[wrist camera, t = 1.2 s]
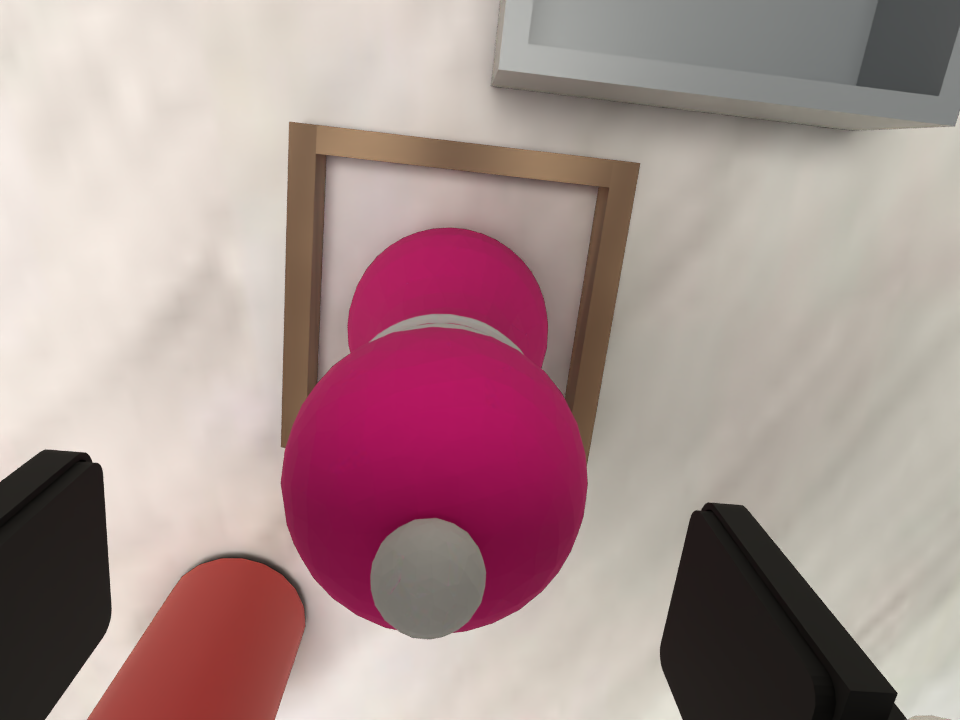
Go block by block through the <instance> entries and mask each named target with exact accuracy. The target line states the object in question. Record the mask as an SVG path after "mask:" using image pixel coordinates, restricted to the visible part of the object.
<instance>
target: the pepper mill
mask: <svg viewBox="0 0 960 720" xmlns="http://www.w3.org/2000/svg"><path fill="white" fill-rule="evenodd" d="M547 335H548V321H547V313H546V308H545V303H544V298H543V295H542V293H541V290H540V287H539V285H538V283H537V281H536V279H535V278H534V276H533V274H532V272H531V271H530V270H529V268H528V267H527V266H526V265H525V263H524V262H523V261H522V260H521V259H520V258H519V257H518V256H517V255H516V254H515V253H514V252H513V251H512V250H510V249H509V248H508V247H506V246H505V245H503V244H502V243H500V242H499V241H497V240H495V239H493V238H491V237H488V236H486V235H484V234H481V233H478V232H474V231H471V230H467V229H458V228H436V229H430V230H425V231H421V232H417V233H414V234H412V235H409V236H407V237H404V238H402V239H401V240H399V241H397V242H396V243H394V244H392V245H391V246H389V247H388V248H387V249H385V250H384V251H383V252H382V253H381V254H380V255H378V256H377V257H376V259H375V260H374V261H373V262H372V263H371V264H370V266H369V267H368V268H367V269H366V271H365V273H364V275H363V276H362V278H361V280H360V282H359V283H358V285H357V288H356V291H355V294H354V296H353V300H352V303H351V307H350V310H349V318H348V344H349V348H350V352H351V353H350V354H349V355H347V356H346V357H345V358H343V359H342V360H340V361H339V362H338V363H336V364H335V365H334V366H332V368H331V369H330V370H329V371H328V372H327V373H326V374H325V375H324V376H323V378H322V379H321V380H320V381H319V382H318V383H317V384H316V385H315V387H314V388H313V390H312V391H311V393H310V394H309V395H308V397H307V398H306V400H305V401H304V403H303V404H302V406H301V408H300V410H299V412H298V415H297V417H296V419H295V421H294V423H293V426H292V429H291V432H290V435H289V438H288V442H287V445H286V448H285V453H284V461H283V469H282V477H281V488H282V495H283V502H284V508H285V515H286V522H287V526H288V529H289V532H290V535H291V537H292V540H293V543H294V545H295V547H296V549H297V551H298V553H299V555H300V557H301V558H302V560H303V562H304V563H305V565H306V566H307V568H308V570H309V571H310V573H311V575H312V576H313V578H314V579H315V580H316V581H317V582H318V583H319V584H320V585H321V586H322V587H323V589H324V590H325V591H326V592H327V593H328V594H329V595H330V596H331V597H332V598H333V599H335V600H336V601H337V602H339V603H340V604H342V605H343V606H345V607H346V608H347V609H349V610H350V611H352V612H353V613H355V614H356V615H358V616H360V617H362V618H364V619H367V620H369V621H371V622H374V623H376V624H378V625H380V626H383V627H385V628H389V629H394V630H398V631H399V632H401V633H403V634H405V635H408V636H410V637H412V638H420V639H435V638H440V637H443V636H446V635H448V634H451V633H456V632H464V631H469V630H472V629H475V628H479V627H482V626H485V625H489V624H492V623H494V622H496V621H498V620H500V619H502V618H504V617H506V616H508V615H510V614H512V613H514V612H516V611H518V610H520V609H521V608H522V607H523V606H525V605H526V604H527V603H528V602H529V601H531V600H532V599H533V598H534V597H536V596H537V595H538V594H539V593H541V592H542V591H543V590H544V589H545V587H546V586H547V585H548V584H549V583H550V582H551V580H552V579H553V578H554V577H555V576H556V575H557V573H558V572H559V571H560V569H561V567H562V566H563V564H564V562H565V560H566V559H567V557H568V555H569V553H570V552H571V550H572V547H573V545H574V542H575V540H576V537H577V535H578V532H579V529H580V526H581V523H582V519H583V516H584V509H585V502H586V494H587V485H588V482H587V468H586V454H585V451H584V447H583V443H582V439H581V436H580V432H579V428H578V425H577V422H576V420H575V418H574V416H573V414H572V412H571V410H570V408H569V406H568V404H567V402H566V400H565V398H564V396H563V394H562V393H561V392H560V390H559V389H558V388H557V386H556V385H555V384H554V383H553V381H552V380H551V379H550V378H549V376H548V375H547V374H546V373H545V371H544V370H542V369H541V367H542V363H543V360H544V356H545V353H546V349H547Z"/></svg>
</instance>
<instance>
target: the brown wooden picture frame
mask: <svg viewBox="0 0 960 720" xmlns="http://www.w3.org/2000/svg"><path fill="white" fill-rule="evenodd" d="M326 155H332V156H341V157H349V158H358V159H367V160H375V161H384V162H392V163H401V164H410V165H418V166H427V167H436V168H444V169H453V170H462V171H470V172H479V173H487V174H496V175H505V176H513V177H522V178H531V179H539V180H548V181H557V182H565V183H574V184H582V185H591V186H599V189H598V195H597V201H596V208H595V214H594V220H593V226H592V233H591V239H590V245H589V251H588V257H587V264H586V270H585V276H584V282H583V289H582V295H581V301H580V307H579V313H578V320H577V326H576V332H575V338H574V345H573V351H572V357H571V363H570V369H569V376H568V382H567V388H566V394H565V400H566V402H567V404H568V406H569V408H570V410H571V412H572V414H573V416H574V418H575V420H576V422H577V425H578V428H579V432H580V436H581V439H582V443H583V447H584V451H585V454H586V467H587V461H588V456H589V450H590V444H591V439H592V433H593V427H594V422H595V416H596V410H597V405H598V399H599V393H600V388H601V382H602V377H603V371H604V365H605V360H606V354H607V348H608V343H609V337H610V331H611V326H612V320H613V314H614V309H615V303H616V297H617V292H618V286H619V280H620V275H621V269H622V263H623V258H624V252H625V247H626V241H627V235H628V230H629V224H630V218H631V213H632V207H633V201H634V196H635V190H636V184H637V179H638V173H639V167H640V163H634V162H625V161H617V160H608V159H600V158H592V157H583V156H575V155H566V154H558V153H549V152H541V151H532V150H524V149H515V148H507V147H498V146H490V145H482V144H473V143H465V142H456V141H448V140H439V139H431V138H422V137H414V136H405V135H397V134H389V133H380V132H372V131H363V130H355V129H346V128H338V127H329V126H321V125H312V124H304V123H295V122H289V149H288V189H287V229H286V269H285V309H284V349H283V389H282V429H281V447H283V448H286V445H287V442H288V438H289V435H290V432H291V429H292V426H293V423H294V421H295V419H296V417H297V415H298V412H299V410H300V408H301V406H302V404H303V403H304V401H305V400H306V398H307V397H308V395H309V394H310V393H311V391H312V390H313V388H314V387H315V385H316V384H317V370H318V346H319V322H320V298H321V274H322V249H323V225H324V201H325V177H326Z"/></svg>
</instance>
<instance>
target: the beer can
mask: <svg viewBox="0 0 960 720" xmlns="http://www.w3.org/2000/svg"><path fill="white" fill-rule="evenodd" d="M304 629H305V615H304V607H303V604H302V602H301V600H300V598H299V596H298V594H297V591H296V589H295V588H294V587H293V586H292V585H291V584H290V583H289V582H288V581H287V580H286V579H285V577H284V576H283V575H282V574H280V573H278V572H277V571H275V570H273V569H271V568H270V567H268V566H266V565H265V564H262V563H258V562H254V561H251V560H247V559H243V558H221V559H217V560H214V561H210V562H207V563H203V564H200V565H198V566H197V567H195V568H194V569H192V570H191V571H189V572H188V573H186V574H185V575H183V576H182V577H181V579H180V580H179V582H178V583H177V584H176V586H175V587H174V589H173V590H172V591H171V593H170V594H169V596H168V597H167V599H166V600H165V602H164V604H163V605H162V607H161V608H160V610H159V611H158V613H157V614H156V616H155V617H154V619H153V620H152V622H151V623H150V625H149V626H148V628H147V629H146V631H145V632H144V634H143V635H142V637H141V638H140V640H139V641H138V643H137V645H136V646H135V648H134V649H133V651H132V652H131V654H130V655H129V657H128V658H127V660H126V661H125V663H124V664H123V666H122V667H121V669H120V670H119V672H118V673H117V675H116V676H115V678H114V679H113V681H112V682H111V684H110V685H109V687H108V689H107V690H106V692H105V693H104V695H103V696H102V698H101V699H100V701H99V702H98V704H97V705H96V707H95V708H94V710H93V711H92V713H91V714H90V716H89V717H88V719H87V720H275V717H276V714H277V711H278V708H279V705H280V702H281V699H282V696H283V693H284V690H285V687H286V684H287V681H288V678H289V675H290V672H291V669H292V666H293V663H294V660H295V657H296V654H297V651H298V648H299V645H300V642H301V638H302V635H303V632H304Z"/></svg>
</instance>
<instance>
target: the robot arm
mask: <svg viewBox="0 0 960 720" xmlns="http://www.w3.org/2000/svg"><path fill="white" fill-rule="evenodd" d="M111 609H112V608H111V592H110V576H109V561H108V545H107V529H106V513H105V498H104V482H103V471H102V468H101V465H100V464H98V463H92V460H91V458H90V456H89V455H88V454H87V453H83V452H71V451H58V450H43V451H41V452H39V453H38V454H37V455H35V456H34V457H33V458H31V459H30V460H29V461H27V462H26V463H25V464H23V465H22V466H21V467H19V468H18V469H17V470H15V471H14V472H13V473H11V474H10V475H9V476H7V477H6V478H5V479H3V480H2V481H1V482H0V720H45V719H46V718H47V716H48V715H49V713H50V712H51V710H52V709H53V708H54V706H55V705H56V703H57V702H58V700H59V699H60V698H61V696H62V695H63V693H64V692H65V691H66V689H67V688H68V686H69V685H70V683H71V682H72V681H73V679H74V678H75V676H76V675H77V674H78V672H79V671H80V669H81V668H82V666H83V665H84V664H85V662H86V661H87V659H88V658H89V657H90V655H91V654H92V652H93V651H94V649H95V648H96V647H97V645H98V644H99V642H100V641H101V639H102V638H103V637H104V635H105V633H106V631H107V629H108V626H109V623H110V619H111ZM660 660H661V666H662V669H663V672H664V675H665V677H666V679H667V682H668V684H669V687H670V689H671V692H672V694H673V697H674V699H675V702H676V704H677V707H678V709H679V712H680V714H681V716H682V719H683V720H950V719H945V718H941V717H936V716H932V715H931V716H914V717H911V718H909V719H907V718H906V717H905V716H904V715H903V713H902V712H901V711H900V710H899V708H898V707H897V706H896V705H895V703H894V702H895V699H896V696H897V694H898V693H897V692H896V691H895V690H894V688H893V687H892V686H891V685H890V683H889V682H888V681H887V680H886V679H885V677H884V676H883V675H882V674H881V672H880V671H879V670H878V669H877V668H876V666H875V665H874V664H873V663H872V661H871V660H870V659H869V658H868V656H867V655H866V654H865V653H864V652H863V650H862V649H861V648H860V647H859V645H858V644H857V643H856V642H855V641H854V639H853V638H852V637H851V636H850V634H849V633H848V632H847V631H846V630H845V628H844V627H843V626H842V625H841V623H840V622H839V621H838V620H837V619H836V617H835V616H834V615H833V614H832V612H831V611H830V610H829V609H828V608H827V606H826V605H825V604H824V603H823V601H822V600H821V599H820V598H819V597H818V595H817V594H816V593H815V592H814V590H813V589H812V588H811V587H810V586H809V584H808V583H807V582H806V581H805V579H804V578H803V577H802V576H801V575H800V573H799V572H798V571H797V570H796V568H795V567H794V566H793V565H792V563H791V562H790V561H789V560H788V559H787V557H786V556H785V555H784V554H783V552H782V551H781V550H780V549H779V548H778V546H777V545H776V544H775V543H774V541H773V540H772V539H771V538H770V537H769V535H768V534H767V533H766V532H765V530H764V529H763V528H762V527H761V526H760V524H759V523H758V522H757V521H756V519H755V518H754V517H753V516H752V515H751V513H750V512H749V511H748V510H747V508H745V507H744V506H743V505H733V504H720V503H706V504H705V505H704V506H703V508H702V510H701V511H698V510H696V511H694V512H693V513H692V515H691V518H690V522H689V526H688V530H687V534H686V539H685V543H684V547H683V551H682V556H681V560H680V564H679V568H678V573H677V577H676V581H675V585H674V590H673V594H672V598H671V603H670V607H669V611H668V615H667V620H666V624H665V628H664V632H663V637H662V641H661V646H660Z"/></svg>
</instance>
